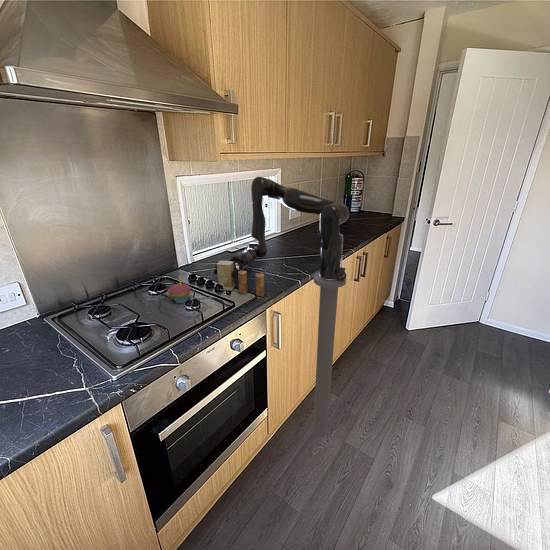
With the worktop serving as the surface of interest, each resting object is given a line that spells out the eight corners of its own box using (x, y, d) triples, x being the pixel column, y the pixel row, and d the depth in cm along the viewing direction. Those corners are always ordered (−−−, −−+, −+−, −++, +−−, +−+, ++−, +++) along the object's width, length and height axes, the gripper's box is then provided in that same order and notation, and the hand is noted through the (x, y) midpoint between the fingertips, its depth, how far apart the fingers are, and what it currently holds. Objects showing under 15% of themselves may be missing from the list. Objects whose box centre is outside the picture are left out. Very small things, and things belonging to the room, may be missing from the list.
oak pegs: (266, 293, 123) (265, 273, 120) (262, 296, 120) (261, 276, 117) (241, 289, 127) (240, 269, 124) (237, 292, 124) (236, 273, 121)
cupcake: (196, 299, 119) (192, 272, 115) (179, 307, 113) (174, 279, 108) (182, 293, 124) (178, 267, 119) (165, 302, 118) (160, 274, 113)
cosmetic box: (218, 290, 127) (215, 263, 122) (221, 285, 130) (219, 260, 126) (232, 291, 126) (230, 264, 121) (235, 286, 129) (233, 260, 125)
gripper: (227, 251, 138) (208, 263, 124) (254, 255, 133) (237, 267, 119) (228, 266, 141) (210, 279, 127) (255, 270, 136) (239, 284, 122)
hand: (223, 273), depth 123 cm, fingers open, 8 cm apart
